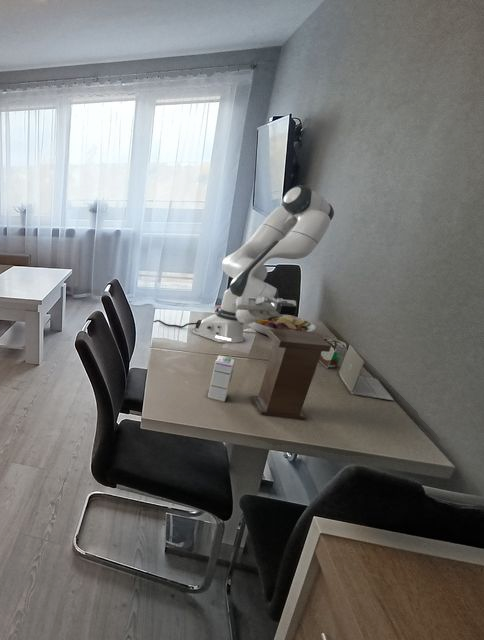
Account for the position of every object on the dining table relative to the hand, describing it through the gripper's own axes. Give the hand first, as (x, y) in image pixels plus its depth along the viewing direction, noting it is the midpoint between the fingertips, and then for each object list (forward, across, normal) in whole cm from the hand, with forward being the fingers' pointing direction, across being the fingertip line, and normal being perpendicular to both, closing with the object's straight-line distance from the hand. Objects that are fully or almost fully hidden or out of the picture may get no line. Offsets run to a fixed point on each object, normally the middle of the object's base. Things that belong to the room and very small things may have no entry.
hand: (273, 299), depth 151 cm
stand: (+6, 0, +39) cm, 39 cm away
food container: (-32, +36, +17) cm, 51 cm away
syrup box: (+3, -18, +38) cm, 42 cm away
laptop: (-15, +39, +27) cm, 50 cm away
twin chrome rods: (+4, 0, +4) cm, 5 cm away
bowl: (-67, +28, -2) cm, 73 cm away
